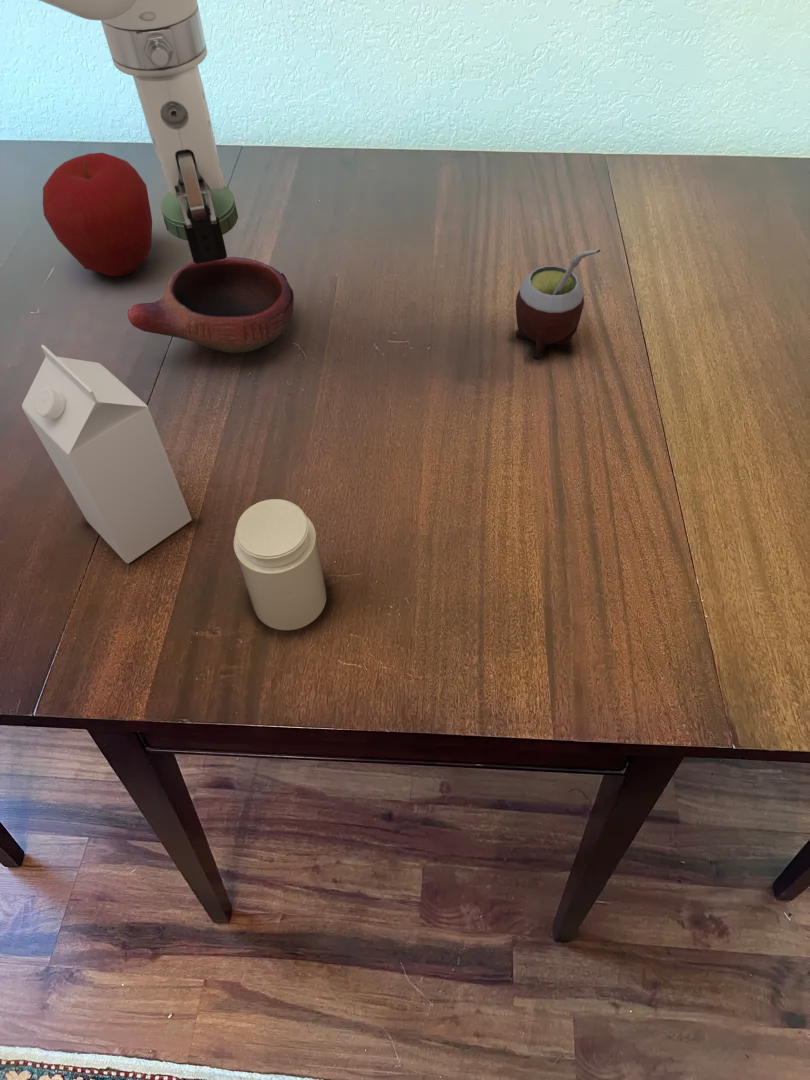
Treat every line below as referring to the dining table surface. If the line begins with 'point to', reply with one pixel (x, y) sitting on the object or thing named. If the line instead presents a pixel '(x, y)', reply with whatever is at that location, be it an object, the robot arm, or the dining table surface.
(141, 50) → the robot arm
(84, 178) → the apple
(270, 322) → the bowl
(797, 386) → the dining table surface
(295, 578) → the jar
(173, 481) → the milk carton
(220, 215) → the jar lid
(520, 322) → the mate gourd
